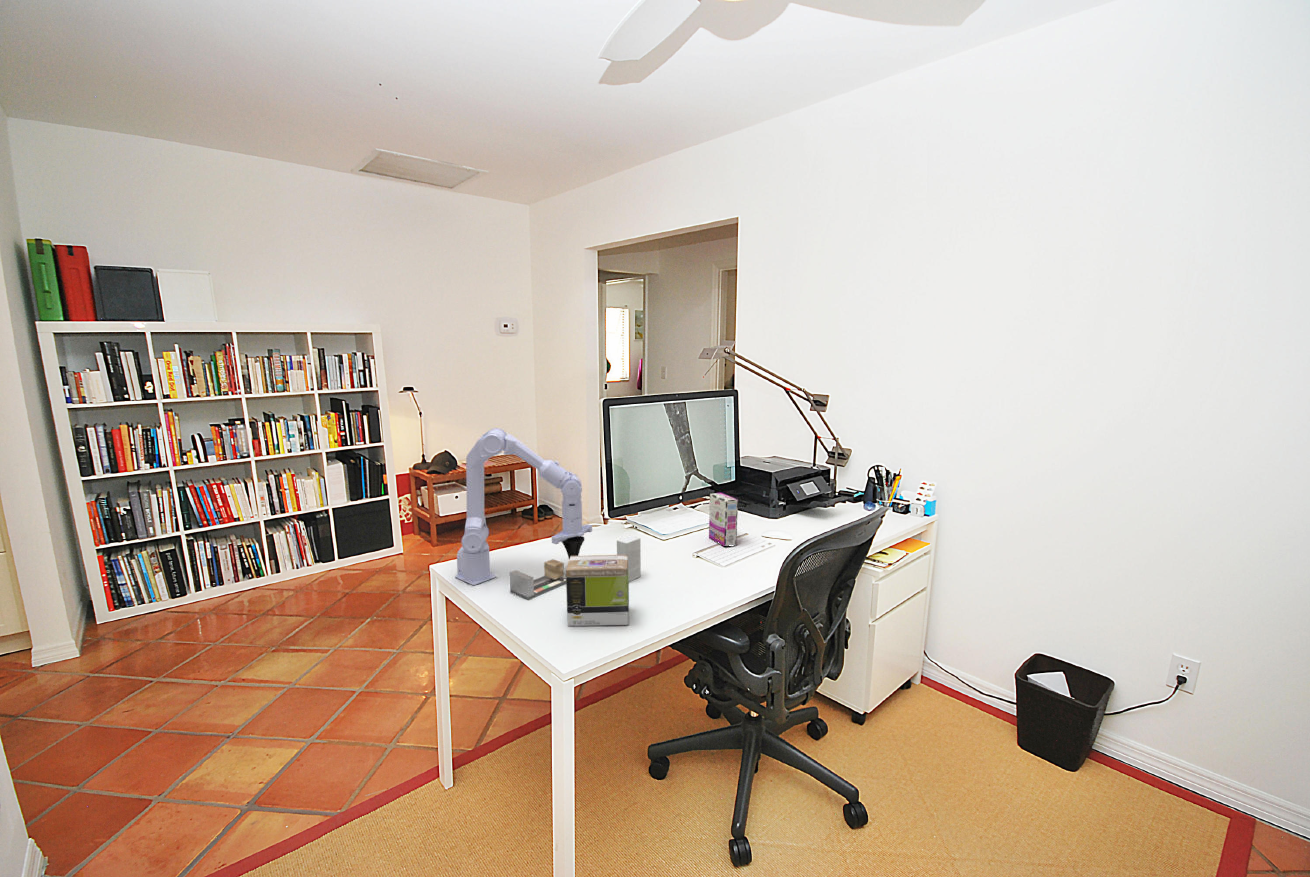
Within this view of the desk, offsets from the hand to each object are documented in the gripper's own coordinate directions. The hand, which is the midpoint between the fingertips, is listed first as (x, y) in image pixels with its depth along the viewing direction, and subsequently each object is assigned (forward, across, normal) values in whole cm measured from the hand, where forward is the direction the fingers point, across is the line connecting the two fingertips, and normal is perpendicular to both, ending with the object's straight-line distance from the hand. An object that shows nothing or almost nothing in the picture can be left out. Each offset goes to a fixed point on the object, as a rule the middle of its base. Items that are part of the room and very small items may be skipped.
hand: (573, 560), depth 169 cm
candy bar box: (+4, +52, -20) cm, 56 cm away
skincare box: (+4, +8, -15) cm, 17 cm away
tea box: (+4, -15, -25) cm, 29 cm away
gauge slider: (+3, -7, -1) cm, 8 cm away
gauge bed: (+4, -13, 0) cm, 13 cm away
